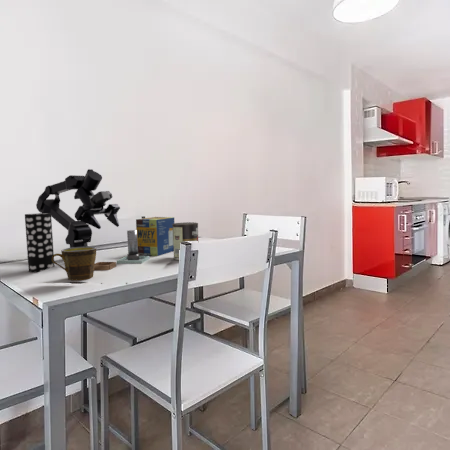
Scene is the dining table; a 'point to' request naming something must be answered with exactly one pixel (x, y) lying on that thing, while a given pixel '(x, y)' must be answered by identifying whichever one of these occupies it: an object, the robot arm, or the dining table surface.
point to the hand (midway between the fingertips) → (109, 227)
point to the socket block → (104, 265)
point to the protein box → (155, 235)
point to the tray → (123, 260)
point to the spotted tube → (39, 241)
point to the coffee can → (183, 235)
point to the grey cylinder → (132, 245)
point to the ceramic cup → (78, 263)
